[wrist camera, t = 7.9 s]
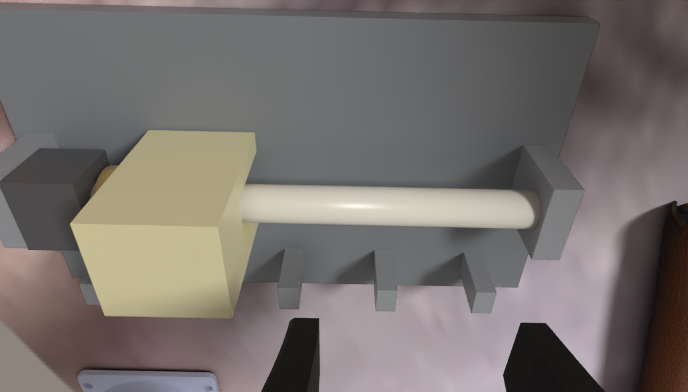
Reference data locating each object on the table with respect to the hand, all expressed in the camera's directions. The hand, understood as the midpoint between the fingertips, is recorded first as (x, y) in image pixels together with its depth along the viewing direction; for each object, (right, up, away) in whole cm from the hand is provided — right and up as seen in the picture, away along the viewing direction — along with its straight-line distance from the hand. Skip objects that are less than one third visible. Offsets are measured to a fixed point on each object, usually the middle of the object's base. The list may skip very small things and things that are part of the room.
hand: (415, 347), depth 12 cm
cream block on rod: (-7, +5, +7) cm, 11 cm away
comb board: (-4, +5, +8) cm, 10 cm away
